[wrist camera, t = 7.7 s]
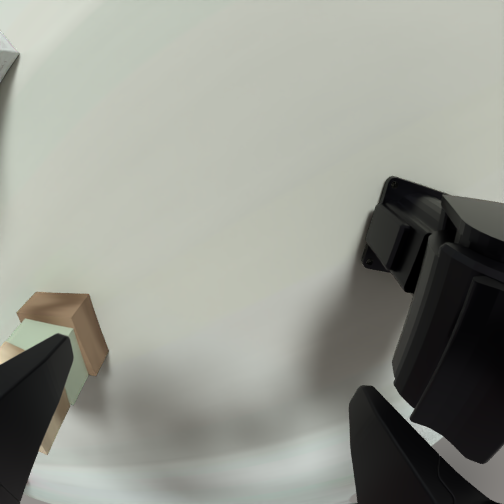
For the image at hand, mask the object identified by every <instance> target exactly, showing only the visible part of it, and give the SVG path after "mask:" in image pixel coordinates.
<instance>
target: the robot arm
mask: <svg viewBox="0 0 504 504" xmlns="http://www.w3.org/2000/svg"><path fill="white" fill-rule="evenodd" d="M394 181H395V182H396V185H395V187H392V186H391V184H392V182H394ZM365 240H366V242H367V244H366V247H365V250H364V253H363V256H362V259H361V261H362V264H363V266H364V267H365V268H368V269H373V270H379V271H384V272H390V273H392V274H393V276H394V277H395V279H396V280H397V281H398V283H399V284H400V286H401V287H402V288H403V290H404V291H405V292H408V293H411V294H412V295H413V299H412V302H411V305H410V309H409V312H408V315H407V318H406V321H405V324H404V327H403V330H402V333H401V336H400V339H399V342H398V344H397V347H396V350H395V353H394V357H393V360H392V366H393V372H394V377H395V380H394V386H395V387H396V389H397V391H398V392H399V394H400V395H401V396H402V397H403V398H404V399H405V401H406V402H407V403H408V404H409V405H411V406H412V407H413V408H415V409H414V411H413V412H412V414H411V416H410V420H411V421H412V422H414V423H417V424H420V425H423V426H426V427H429V428H431V429H432V430H434V431H436V432H437V433H439V434H441V435H442V436H444V437H445V438H446V439H447V440H448V441H449V442H451V443H452V445H454V446H455V447H456V449H458V450H459V452H460V453H461V454H462V455H463V456H464V457H466V458H467V459H469V460H472V461H475V462H477V463H480V464H484V463H486V462H488V461H489V460H490V459H491V458H492V457H493V456H494V455H495V454H496V452H498V451H499V449H500V448H501V447H502V446H503V445H504V203H499V202H493V201H487V200H480V199H473V198H467V197H459V196H452V195H449V194H446V193H444V192H441V191H438V190H435V189H432V188H429V187H426V186H423V185H420V184H417V183H414V182H411V181H408V180H405V179H402V178H398V177H395V176H391V177H389V178H388V179H387V180H386V183H385V187H384V190H383V194H382V197H381V200H380V203H379V204H378V205H377V206H376V207H375V211H374V214H373V217H372V220H371V223H370V227H369V230H368V233H367V236H366V239H365ZM368 259H371V261H370V262H369V263H366V261H367V260H368ZM73 359H74V355H73V350H72V345H71V341H70V338H69V337H68V336H66V335H63V334H60V333H56V334H54V335H52V336H51V337H49V338H47V339H45V340H43V341H42V342H40V343H38V344H36V345H34V346H33V347H31V348H29V349H27V350H25V351H24V352H22V353H20V354H18V355H16V356H15V357H13V358H11V359H9V360H8V361H6V362H4V363H2V364H0V504H20V501H21V498H22V495H23V492H24V489H25V486H26V483H27V481H28V478H29V475H30V472H31V469H32V467H33V464H34V461H35V459H36V456H37V454H38V451H39V449H40V446H41V444H42V441H43V439H44V436H45V434H46V431H47V429H48V427H49V424H50V422H51V420H52V417H53V415H54V413H55V411H56V408H57V406H58V404H59V401H60V399H61V396H62V393H63V390H64V387H65V384H66V381H67V378H68V375H69V372H70V369H71V366H72V363H73ZM349 423H350V448H351V456H352V463H353V470H354V478H355V485H356V493H357V502H358V504H500V503H496V502H494V501H492V500H490V499H489V498H487V497H486V496H485V495H484V494H482V493H481V492H480V491H478V490H477V489H476V488H475V487H474V486H472V485H471V484H470V483H469V482H468V481H466V480H465V479H464V478H463V477H462V476H461V475H460V474H458V473H457V472H456V471H455V470H454V469H453V468H452V467H451V466H450V465H449V464H448V463H447V462H446V461H445V460H444V459H443V458H442V457H441V456H439V454H438V453H437V452H436V451H435V450H434V449H433V448H432V447H431V446H430V445H429V444H428V443H427V442H426V441H425V439H424V438H423V437H422V436H421V435H420V434H419V433H418V432H417V431H416V430H415V429H414V428H413V427H412V426H411V425H410V424H409V423H408V422H407V421H406V420H405V419H404V418H403V417H402V416H401V415H400V414H399V413H398V412H397V411H396V410H395V408H394V407H393V406H392V405H391V404H390V403H389V402H388V401H387V400H386V399H385V398H384V397H383V396H382V395H381V394H380V393H379V392H378V391H377V390H376V389H375V388H374V387H373V386H366V385H362V386H360V387H359V388H358V389H357V391H356V393H355V394H354V396H353V398H352V399H351V401H350V403H349Z"/></svg>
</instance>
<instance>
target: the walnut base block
mask: <svg viewBox="0 0 504 504" xmlns="http://www.w3.org/2000/svg"><path fill="white" fill-rule="evenodd" d="M17 315H18V317H19V319H20V322H21V323H22V321H23V320H24V319H25V318H26V319H30V320H34V321H39V322H44V323H48V324H53V325H58V326H63V327H68V328H73V330H74V333H75V336H76V339H77V342H78V345H79V348H80V351H81V354H82V357H83V360H84V363H85V366H86V369H87V371H88V374H89V375H92V376H96V375H97V373H98V371H99V369H100V367H101V365H102V363H103V361H104V359H105V357H106V355H107V353H108V351H109V350H108V347H107V345H106V342H105V339H104V337H103V334H102V331H101V328H100V326H99V323H98V320H97V317H96V314H95V311H94V308H93V305H92V302H91V299H90V295H89V294H72V293H46V292H35V293H34V295H33V296H32V297H31V298H30V299H29V300H28V301H27V302H26V303H25V304H24V305H23V306H22V307H21V308H20V310H19V311H18V312H17Z"/></svg>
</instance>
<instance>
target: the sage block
mask: <svg viewBox="0 0 504 504" xmlns="http://www.w3.org/2000/svg"><path fill="white" fill-rule="evenodd" d="M56 333H60V334H63V335H66V336H68V337H69V338H70V341H71V345H72V350H73V355H74V359H73V363H72V366H71V369H70V372H69V375H68V378H67V381H66V384H65V390H66V393H67V397H68V400H69V404H71V405H74V403H75V401H76V399H77V397H78V395H79V393H80V391H81V389H82V387H83V385H84V383H85V381H86V379H87V377H88V375H89V374H88V371H87V369H86V366H85V363H84V360H83V357H82V354H81V351H80V348H79V345H78V342H77V339H76V336H75V333H74V330H73V328H68V327H63V326H58V325H53V324H48V323H44V322H39V321H34V320H30V319H26V318H25V319H24V320H23V321H22V323H21V324H20V325H19V326H18V327H17V329H16V330H15V331H14V332H13V333H12V335H11V336H10V337H9V338H8V339H7V341H6V342H8V343H10V344H12V345H15V346H17V347H19V348H21V349H23V350H27V349H29V348H31V347H33V346H34V345H36V344H38V343H40V342H42V341H43V340H45V339H47V338H49V337H51V336H52V335H54V334H56Z"/></svg>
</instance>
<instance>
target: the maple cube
mask: <svg viewBox="0 0 504 504" xmlns="http://www.w3.org/2000/svg"><path fill="white" fill-rule="evenodd" d="M24 351H25V350H23V349H21V348H19V347H17V346H15V345H12V344H10V343H8V342H6V341H5V342H4V343H3V344H2V346H1V347H0V364H2V363H4V362H6V361H8V360H9V359H11V358H13V357H15V356H16V355H18V354H20V353H22V352H24ZM69 408H70V404H69V400H68V397H67V393H66V390H65V387H64V390H63V393H62V396H61V399H60V401H59V404H58V406H57V408H56V411H55V413H54V415H53V417H52V420H51V422H50V424H49V427H48V429H47V431H46V434H45V436H44V439H43V441H42V444H41V446H40V449H39V451H40V452H42V453H44V454H46V455H48V453H49V451H50V449H51V446H52V444H53V442H54V440H55V438H56V435H57V433H58V431H59V429H60V427H61V425H62V422H63V420H64V418H65V416H66V414H67V412H68V410H69Z"/></svg>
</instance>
